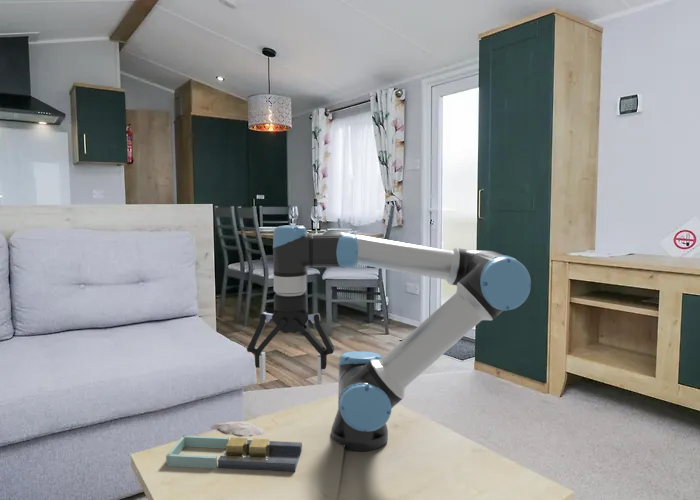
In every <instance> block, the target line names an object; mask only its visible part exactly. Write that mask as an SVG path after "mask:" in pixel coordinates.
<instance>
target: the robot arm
mask: <svg viewBox="0 0 700 500" xmlns="http://www.w3.org/2000/svg"><path fill="white" fill-rule="evenodd" d="M272 238H273V239H272V241H273V242H272V243H273V244H272V258H273V259H272V260H273V262H272V263H273V264H272V265H273V292H275V293H274V295H273V313H269V312H267V311H263V312H262V313H261V314H260V316H259V323H258V325H257V328H256V330H255V332H254V334H253V336H252V338H251V340H250V341H249V344H248V346H247V348H246V351H247V353H252V354H254V364H255V366H254V367H255V368H258V369H259V383H261V384H262V383H263V384H264V382H265V380H266V374H267V372H266V351H264V349H265V348H266V347H267V345H268V344H270V342H271V341H272V340H273V338H275V336H276V335H277V334H278V333H279V332H280V331H281V333H283V334H287V333H291V334H297V333H300V334H301V335H302V336H304V337H305V338H306V340H307V341H308V342H309V344H310V345H311V346H312V347H313V348H314V349H315V351H316V352H317V353H318V354H317V359H316V360H317V362H316V363H317V366H316V367H317V371H316V373H317V375H316V376H317V377H316V378H317V380H316V381H317V385H321V384H322V382H323V370H326V368H327V363H328V362H327V361H328V360H327V357H328V355H332V354H333V353H334V351H335V346H334V344H333V342H332V340H331V338H330V336H329V335H328V332H327V331H326V329H325V327H324V324H323V323H322V318H321V313H320V312H318V311H317V312H316V313H308V310H307V302H308V301H307V300H308V299H307V294H306V291H307V268H341V269H344V268H355V267H357V265H360V266H365V267H371V268H378V269H384V270H387V271H388V270H389V271H394V272H400V273H404V274H412V275H417V276H422V277H428V278H433V279H440V280H445V281H446V282H447V283H448V284H449V285H453V286H456V292H455V293H454V294H453V295H452V296H451V297H450V298H448V299H447V300H446V301H445V302H444V303H443V304H442V305H440V306H439V307H438V308H437V309H436V310H435V311H434V312H433V313H431V315H430V316H428V317H427V318H426V319H425V320H423V322H421V323H420V324H419V325H418V326H417V327H416V328H415V329H414V330H412V331H411V332H410V333H409V334H408V335H407V336H405V337H404V338H403V339H402V340H401V341H400V342H398V344H396V345H395V346H394V347H393V348H392V349H391V350H390V351H389V352H388V353H387V354H385V355H384V356H382V355H381V354H379V353H377V352H371V351H347V352H344V353H342V354H341V355H340V356H339V357H338V358H339V359H338V363H337V365H338V393H337V395H338V399H337V400H338V406H337V407H338V408H337V412H336V414H335V417H334V420H333V424H332V426H331V434H330V435H331V437H332V439H333V440H334V441H335V442H336V443H338V444H340V445H342V446H344V449H345V450H350V451H355V452H366V451H372V450H377V449H379V448H381V447H383V446H384V445H385V444H386V443H387V442H388V439H389V434H388V433H389V430H388V426H387V422H388V421H389V419H390V417H391V413H392V409H393V408H394V407H395V406H396V405H398V404H399V403H400V402H401V401H402V400H403V399H404V398H405V392H406V391H405V390H406V388H407V386H409V385H410V384H411V383H412V382H413V381H414V380H416V378H418V377H419V376H420V375H421V374H423V372H425V371H426V370H427V369H428V368H429V367H430V366H432V365H433V364H434V363H435V362H436V361H438V360H439V358H441V357H442V356H443V355H444V354H445V353H446V352H448V350H450V349H451V348H452V347H453V346H455V344H457V342H459V341H460V340H461V339H462V338H464V337H465V335H467V334H468V333H469V332H470V331H471V330H473V329H474V327H476V326H477V325H479V323H481V322H482V321H493V320H494V319H495V318H497V317H498V316H499V315H500V314H501V313H502V312H504V311H511V310H515V309H517V308H519V307H520V306H521V305H522V304H524V303H525V302H526V301H527V300H528V297H529V296H530V292H531V286H532V281H531V276H530V272H529V271H528V269H527V267H526V266H525V265H524V264H523V263H521V262H520V261H519V260H517V259H516V258H514V257H513V256H511V255H506V254H505V255H504V254H503V253H502V254H501V253H500V252H498V251H494V250H480V249H478V250H477V249H465V248H459V247H454V248H453V249H451V250H448V249H443V248H442V249H441V248H437V247H430V246H425V245H421V244H420V245H418V244H413V243H408V242H407V243H406V242H402V241H395V240H390V239H384V238H377V237H373V236H367V235H362V234H354V233H349V232H343V231H341V230H338V229H329V230H327V231H325V232H324V233H322V234H309V233H307V228H306V227H305V226H302V225H279V226H277V227H275V228H274V230H273V237H272ZM271 320H272V321H273V323H274V324H275V325H276V326H274V328H273V329H272V331H270V333H268V335H267V336H266V338H264V340H263V341H262V342H261V343H260V344H259V345H258V346H256V345H257V343H258V341H259V339H260V337H261V335H262V333H263V331H264V329H265V327H266V325H267V324H268V323H269V322H270V321H271ZM309 320H310V322H311V323H312V324H314V326H315V328H316V331H317V333H318V335H319V337H320V338H321V340H322V342H323V343H321V341H320V340H319V339H318V338H317V337H316V336H315V334H314V333H313V332H312V331H311V330H310V327H308V325H307V322H308V321H309Z"/></svg>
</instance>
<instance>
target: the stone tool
mask: <svg viewBox="0 0 700 500" xmlns="http://www.w3.org/2000/svg"><path fill="white" fill-rule="evenodd" d="M211 430H218V431H221V432H222V433H225V435H226V434H227V435H235V436H237V437H240V436H243V437H250V436H251V437H252V436H261V435H263V434H264V432H265V430H264V429H263V428H261V427H260V426H259V425H256V424H254V423H249V422H245V421H241V420H240V421H226V422H223V423H214V424H212V426H211Z"/></svg>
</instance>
